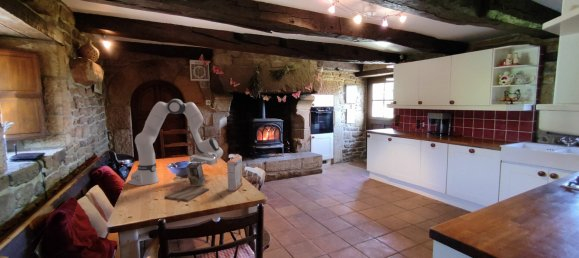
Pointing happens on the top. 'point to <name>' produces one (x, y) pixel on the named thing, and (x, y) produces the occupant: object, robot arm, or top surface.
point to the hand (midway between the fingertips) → (195, 162)
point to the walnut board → (187, 193)
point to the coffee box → (195, 174)
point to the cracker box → (234, 174)
